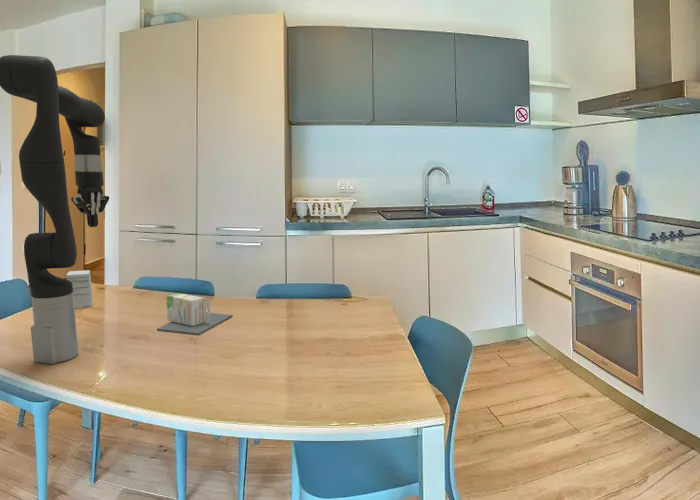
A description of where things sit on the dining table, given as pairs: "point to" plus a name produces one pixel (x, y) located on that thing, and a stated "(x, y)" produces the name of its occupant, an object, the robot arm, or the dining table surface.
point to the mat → (195, 329)
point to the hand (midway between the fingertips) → (93, 226)
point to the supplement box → (81, 288)
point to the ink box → (187, 309)
